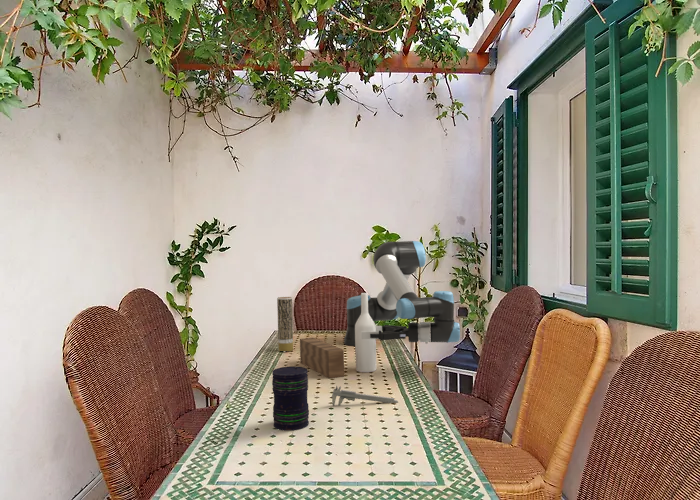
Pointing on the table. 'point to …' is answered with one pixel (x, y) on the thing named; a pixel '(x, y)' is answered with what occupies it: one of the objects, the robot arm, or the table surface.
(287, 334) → the paper tube
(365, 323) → the bottle
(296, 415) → the storage jar
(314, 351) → the wooden block
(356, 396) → the caliper
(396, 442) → the table surface
